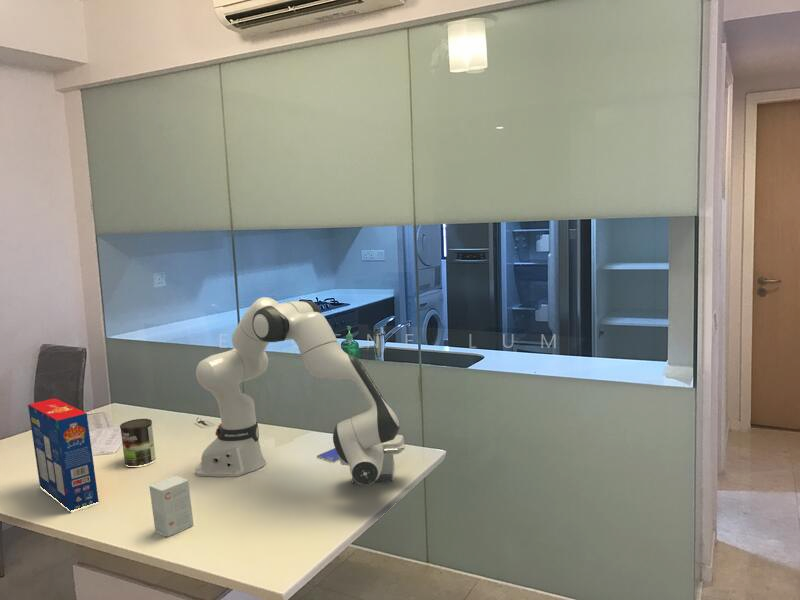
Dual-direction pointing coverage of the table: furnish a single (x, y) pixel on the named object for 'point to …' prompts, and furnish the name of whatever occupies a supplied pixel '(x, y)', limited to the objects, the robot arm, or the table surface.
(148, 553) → the table surface
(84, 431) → the blue cereal box
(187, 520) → the small box
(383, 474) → the socket plate
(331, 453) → the hard drive
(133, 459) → the coffee can
